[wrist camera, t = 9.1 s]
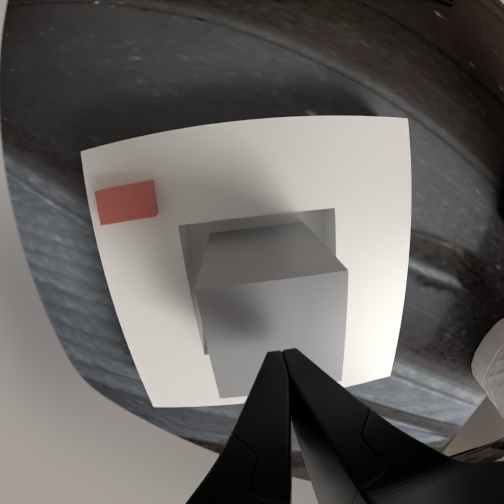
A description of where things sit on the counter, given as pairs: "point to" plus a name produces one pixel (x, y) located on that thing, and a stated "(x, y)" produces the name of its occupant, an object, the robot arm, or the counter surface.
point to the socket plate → (244, 217)
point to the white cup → (491, 365)
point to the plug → (270, 302)
